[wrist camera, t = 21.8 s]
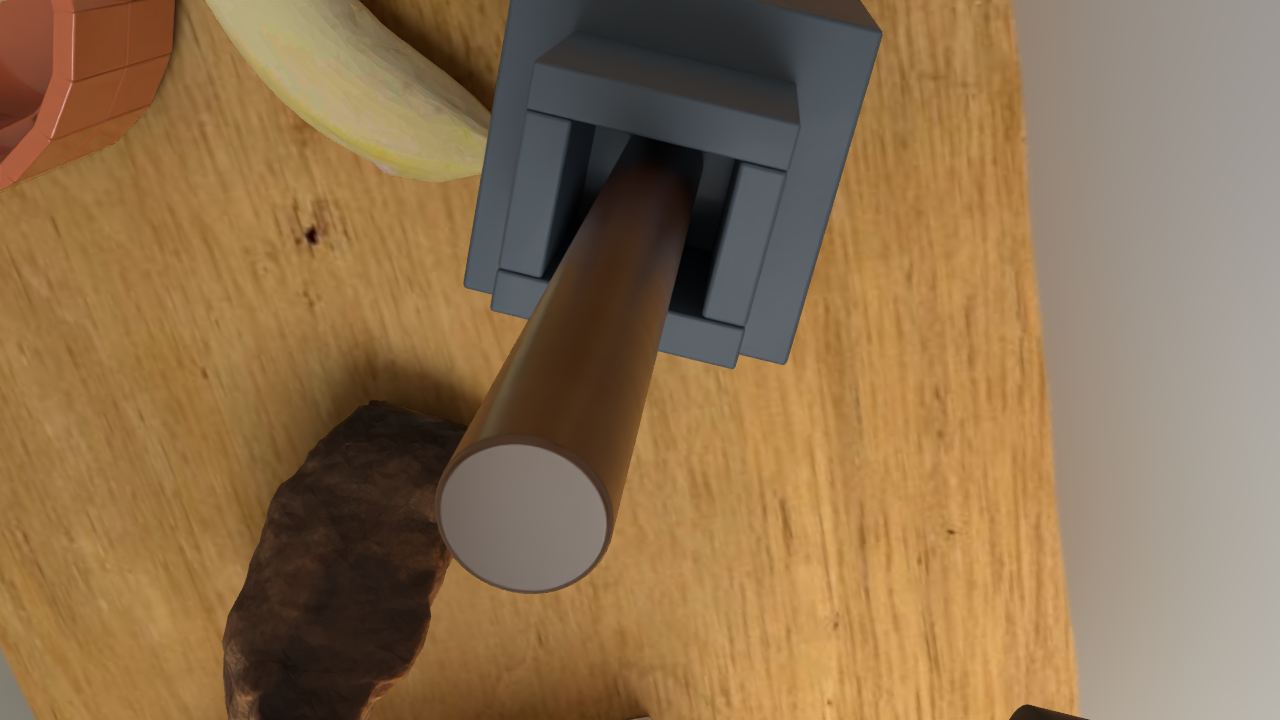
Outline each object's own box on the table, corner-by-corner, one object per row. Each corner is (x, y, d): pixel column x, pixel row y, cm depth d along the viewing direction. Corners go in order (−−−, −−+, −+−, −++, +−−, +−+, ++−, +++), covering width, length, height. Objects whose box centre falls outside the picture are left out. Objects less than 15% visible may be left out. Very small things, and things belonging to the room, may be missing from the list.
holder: (604, -78, 33) (466, -44, 18) (847, -21, 33) (906, 61, 18) (558, 161, 36) (406, 360, 21) (782, 215, 36) (787, 453, 21)
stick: (628, 116, 23) (438, 422, 10) (709, 129, 23) (624, 455, 10) (617, 194, 23) (425, 580, 11) (696, 208, 23) (598, 611, 11)
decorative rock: (399, 682, 44) (290, 917, 34) (251, 614, 43) (95, 832, 33) (527, 430, 39) (443, 616, 29) (362, 350, 39) (220, 512, 29)
